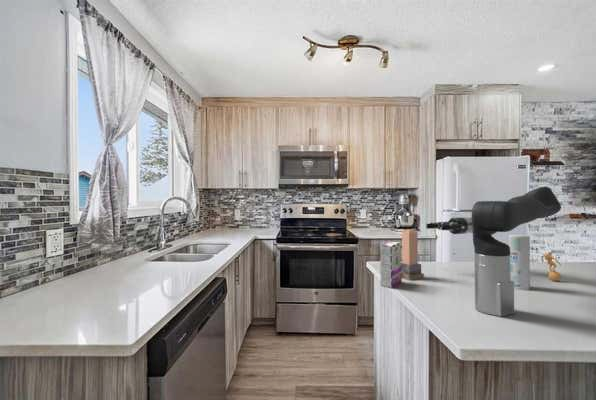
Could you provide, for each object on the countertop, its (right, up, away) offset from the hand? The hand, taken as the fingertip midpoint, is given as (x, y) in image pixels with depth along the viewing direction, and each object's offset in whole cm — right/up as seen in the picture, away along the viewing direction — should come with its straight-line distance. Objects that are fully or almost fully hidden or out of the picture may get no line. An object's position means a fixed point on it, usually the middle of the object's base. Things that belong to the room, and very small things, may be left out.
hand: (434, 226), depth 134 cm
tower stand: (-11, -22, 0) cm, 25 cm away
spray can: (+25, -22, -17) cm, 37 cm away
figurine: (+45, -22, -8) cm, 51 cm away
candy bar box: (-22, -22, -11) cm, 34 cm away
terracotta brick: (-11, -16, 0) cm, 19 cm away
